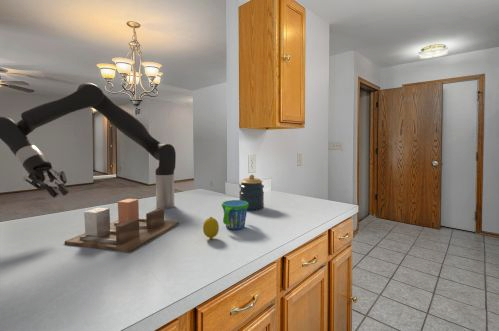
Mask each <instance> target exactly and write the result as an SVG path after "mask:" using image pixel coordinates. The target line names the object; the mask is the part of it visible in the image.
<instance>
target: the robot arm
mask: <svg viewBox="0 0 499 331" xmlns="http://www.w3.org/2000/svg"><path fill="white" fill-rule="evenodd" d="M87 108H88V109H89V108H92V109H94V110H95V111H97V112H99V114H101V115H102V116H104V117H105V119H107V121H109V123H111V124H112V125H113V126H114V127H115V128H116V129H118V131H120V132H121V133H122V134H123V135H125V136H126V137H128V138H129V139H130V140H132V141H134V143H136V144H137V145H139V146H141V147H142V148H143V149H144V150H145V151H146V152H147V153H149V155H151V156H152V157H153V158H154V159H155V160H157V161H158V167H156V169H155V203H156V204H155V206H156V209H159V208H164V209H170V208H174V207H175V170H176V157H177V156H176V155H177V154H176V149H175V147H174V146H173V145H172V144H171V143H162V142H160V141H158V139H156V138H154V137H153V136H152V135H151V134H150V133H149V131H148V130H147V128H146V126H145V125H144V124H143V123H142V122H141V121H140V120H139V119H138V118H136V117H135V116H134V115H133V114H131V113H130V112H128V111H127V110H125V109H124V108H123V107H121V106H119V104H118V105H117V104H116V103H115V102H113V101H112V100H111V99H110V98H109V96H107V95H106V94H105V93H104V92H103V90H102V89H101V87H100V86H98V85H96V84H94V83H92V82H83V83H80V84H79V85H78V87H77V89H76V90H75V91H74V92H72V93H71V94H69V95H67V96H64V97H62V98H59V99H57V100H53V101H50V102H45V103H43V104H39V105H38V106H34V107H32V108H30V109H27V110H25V111H23V112H22V113H21V114H20V116H21V120H18V122H16V121H15V120H13V119H12V118H10V117H7V116H0V140H1V141H2V142H3V143H5V145H6V146H7V147H8V148H9V150H10V151H11V153H13V154H14V156H15V157H16V158H17V160H18V161H17V162H19V164H20V165H21V166H22V168H24V170H25V171H26V172H27V174H28V176H27V177H26V178H25V182H26V183H28V184H30V186H31V185H32V186H33V187H35V188H36V189H37V190H39V191H42V190H45V191H47V192H48V194H49V195H50V196H51V197H52V198H57V197H58V196H59V194H60V193H61V194H62V195H63V196H67V195H68V194H69V189H68V188H67V187H66V184H67V183H68V180H67V177H66V173H65V171H64V170H61V171H57V170H56V169H54V168H53V166H52V162H50V160H49V159H48V158H47V157H46V156H45V155H44V153H43V152H42V151H41V150H40V149H39V148H38V147H37V146H36V145H35V143H34V142H33V141H32V140H31V139H30V138H29V137H28V135H29V134H31V133H32V132H33V131H35V130H36V129H37V128H40V127H42V126H44V125H46V124H49V123H52V122H53V121H55V120H58V119H60V118H62V117H64V116H66V115H68V114H71V113H74V112H77V111H80V110H85V109H87ZM53 185H54V186H55V187H56V188H57V189H58V191H57V189H56V188H55V187H54V186H53ZM59 192H60V193H59Z"/></svg>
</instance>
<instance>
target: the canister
mask: <svg viewBox="0 0 499 331" xmlns="http://www.w3.org/2000/svg"><path fill="white" fill-rule="evenodd" d="M240 183H241V184H239V186H238V187H239V191H238V193H239V196H238V198H239V199H238V200H241V201H246V202H248V203H249V206H248V208H247V212H256V211H261V210H264V206H265V203H264V202H265V200H264V198H265V196H264V193H265V192H264V187H265V185H264V184H263V180H261V179H260V178H255V176H254V174H250V175H249V176H248V177H246V178H243V179H242V180H240Z"/></svg>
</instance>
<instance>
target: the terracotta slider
mask: <svg viewBox="0 0 499 331" xmlns="http://www.w3.org/2000/svg"><path fill="white" fill-rule="evenodd" d="M139 207H140V206H139V198H138V199H137V198H126V199H123V200H119V201H117V216H118V217H117V218H118V220H117V221H119V223H125V222H127V221H129V220H132V219H139V218H140V213H139V210H140V209H139Z"/></svg>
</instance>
